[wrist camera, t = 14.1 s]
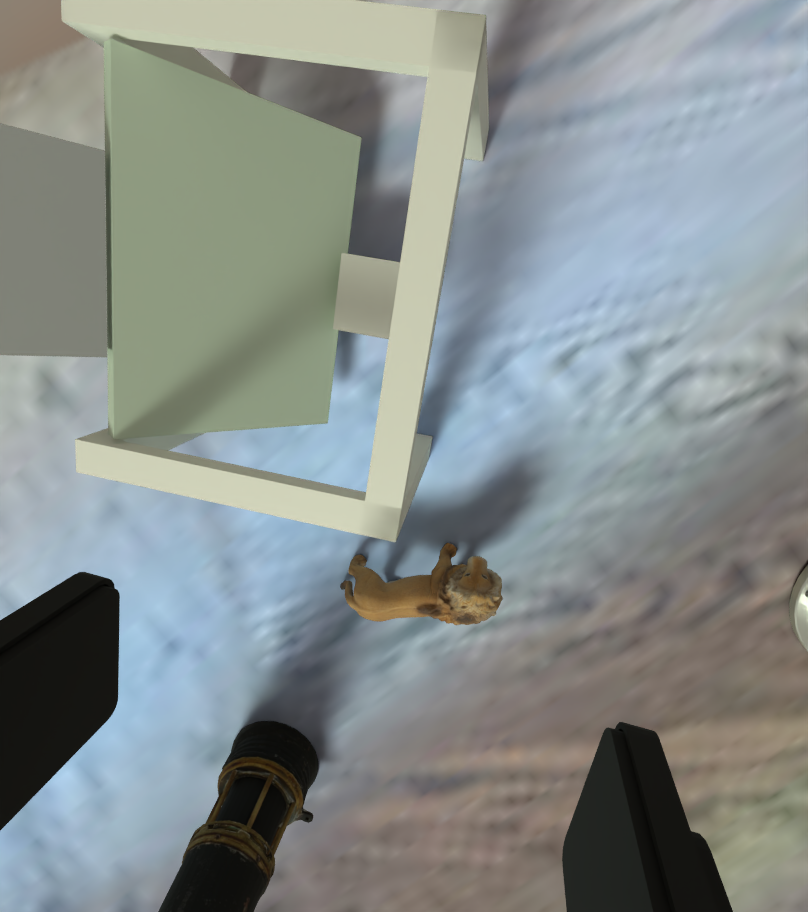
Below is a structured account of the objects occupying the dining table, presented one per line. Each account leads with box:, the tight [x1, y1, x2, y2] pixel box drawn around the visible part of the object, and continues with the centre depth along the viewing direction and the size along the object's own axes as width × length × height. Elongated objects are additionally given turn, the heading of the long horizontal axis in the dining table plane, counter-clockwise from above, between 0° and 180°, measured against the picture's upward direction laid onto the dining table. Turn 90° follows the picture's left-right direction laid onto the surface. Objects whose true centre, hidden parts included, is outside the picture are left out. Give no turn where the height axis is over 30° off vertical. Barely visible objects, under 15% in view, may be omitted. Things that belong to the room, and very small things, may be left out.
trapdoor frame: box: [61, 0, 489, 542], centre depth 34 cm, size 19×24×16 cm
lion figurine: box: [340, 543, 503, 625], centre depth 42 cm, size 15×5×9 cm, turn 110°
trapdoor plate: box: [0, 38, 361, 439], centre depth 29 cm, size 29×19×4 cm
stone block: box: [333, 253, 400, 339], centre depth 38 cm, size 5×5×5 cm
